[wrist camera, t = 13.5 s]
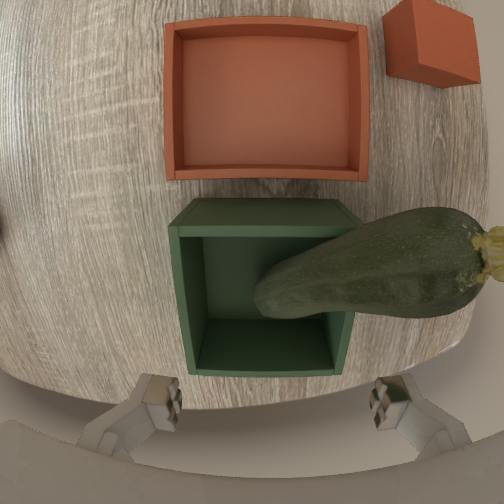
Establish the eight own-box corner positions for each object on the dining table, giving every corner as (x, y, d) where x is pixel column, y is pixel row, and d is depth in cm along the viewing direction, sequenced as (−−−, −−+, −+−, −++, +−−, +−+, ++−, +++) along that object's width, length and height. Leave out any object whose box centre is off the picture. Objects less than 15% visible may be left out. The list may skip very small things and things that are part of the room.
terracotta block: (438, 32, 15) (473, 17, 10) (442, 88, 17) (481, 83, 12) (382, 16, 15) (410, -7, 11) (386, 75, 17) (418, 63, 12)
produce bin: (338, 199, 21) (368, 227, 15) (325, 321, 25) (341, 375, 19) (193, 198, 21) (167, 225, 15) (203, 320, 25) (188, 374, 19)
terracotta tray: (353, 38, 16) (366, 25, 13) (353, 175, 20) (367, 182, 17) (177, 36, 17) (164, 23, 14) (178, 174, 20) (166, 180, 18)
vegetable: (221, 307, 21) (586, 265, 3) (240, 250, 22) (548, 128, 5) (273, 326, 22) (582, 314, 5) (288, 273, 24) (568, 206, 6)
